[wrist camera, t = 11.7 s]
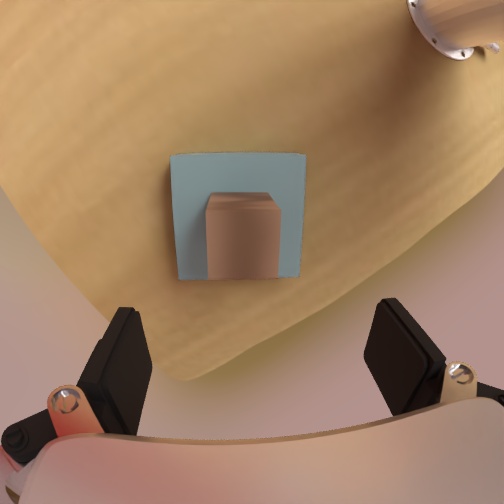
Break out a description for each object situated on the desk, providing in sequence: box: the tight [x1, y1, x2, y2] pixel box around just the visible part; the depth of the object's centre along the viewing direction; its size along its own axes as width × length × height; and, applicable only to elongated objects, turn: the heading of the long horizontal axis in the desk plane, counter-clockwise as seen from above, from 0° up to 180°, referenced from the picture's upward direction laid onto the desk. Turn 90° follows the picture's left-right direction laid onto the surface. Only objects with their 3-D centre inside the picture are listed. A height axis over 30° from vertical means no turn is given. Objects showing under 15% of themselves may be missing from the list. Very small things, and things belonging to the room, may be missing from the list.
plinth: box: [170, 152, 306, 280], centre depth 28 cm, size 12×12×4 cm
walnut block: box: [206, 192, 281, 280], centre depth 23 cm, size 5×5×7 cm
